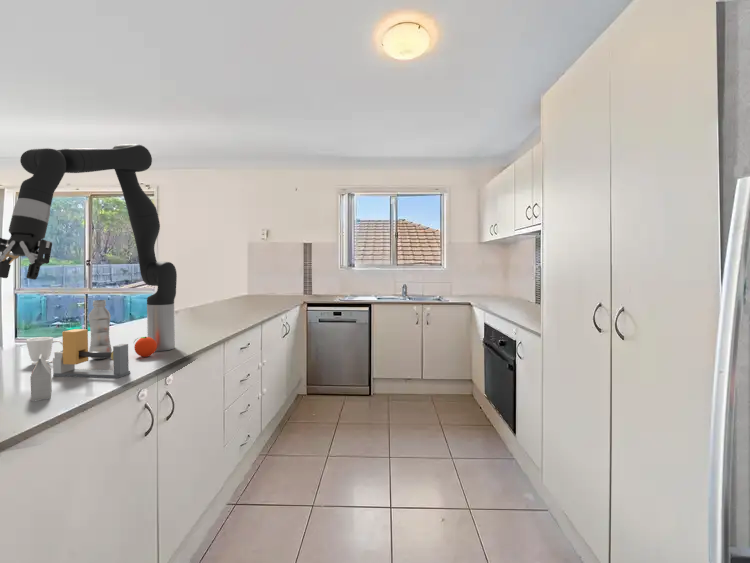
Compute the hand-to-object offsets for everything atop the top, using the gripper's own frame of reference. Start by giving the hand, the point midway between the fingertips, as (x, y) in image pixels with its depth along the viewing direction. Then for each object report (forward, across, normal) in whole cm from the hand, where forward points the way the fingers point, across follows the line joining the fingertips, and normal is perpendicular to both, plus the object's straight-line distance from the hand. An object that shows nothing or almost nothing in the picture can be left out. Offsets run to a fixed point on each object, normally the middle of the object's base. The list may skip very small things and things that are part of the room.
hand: (16, 278), depth 108 cm
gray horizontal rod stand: (+24, -9, -21) cm, 33 cm away
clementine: (+19, -9, -44) cm, 48 cm away
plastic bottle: (+21, +3, -38) cm, 44 cm away
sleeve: (+21, -4, -20) cm, 29 cm away
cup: (+23, +16, -31) cm, 42 cm away
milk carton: (+29, -12, -2) cm, 32 cm away
